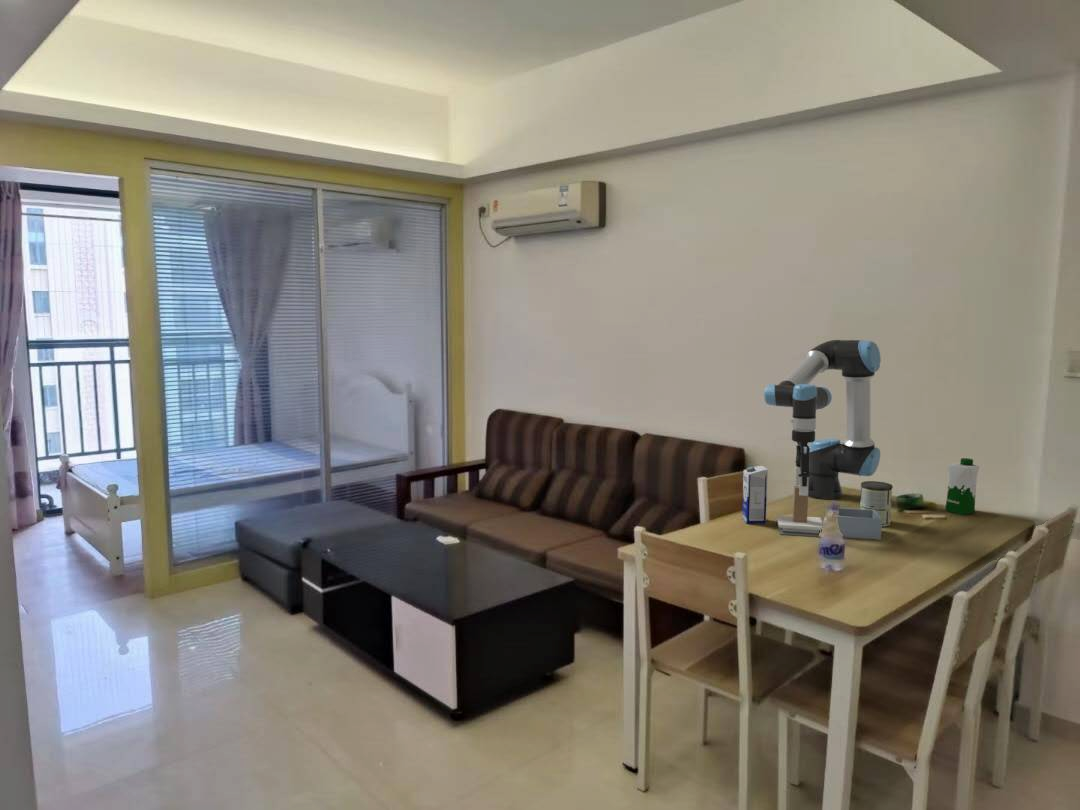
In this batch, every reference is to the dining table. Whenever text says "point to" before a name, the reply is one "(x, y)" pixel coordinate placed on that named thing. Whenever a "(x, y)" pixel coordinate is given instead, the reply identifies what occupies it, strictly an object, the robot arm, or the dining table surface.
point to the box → (859, 523)
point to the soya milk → (961, 487)
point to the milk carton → (754, 495)
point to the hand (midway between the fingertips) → (801, 490)
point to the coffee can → (877, 499)
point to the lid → (799, 516)
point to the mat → (797, 533)
